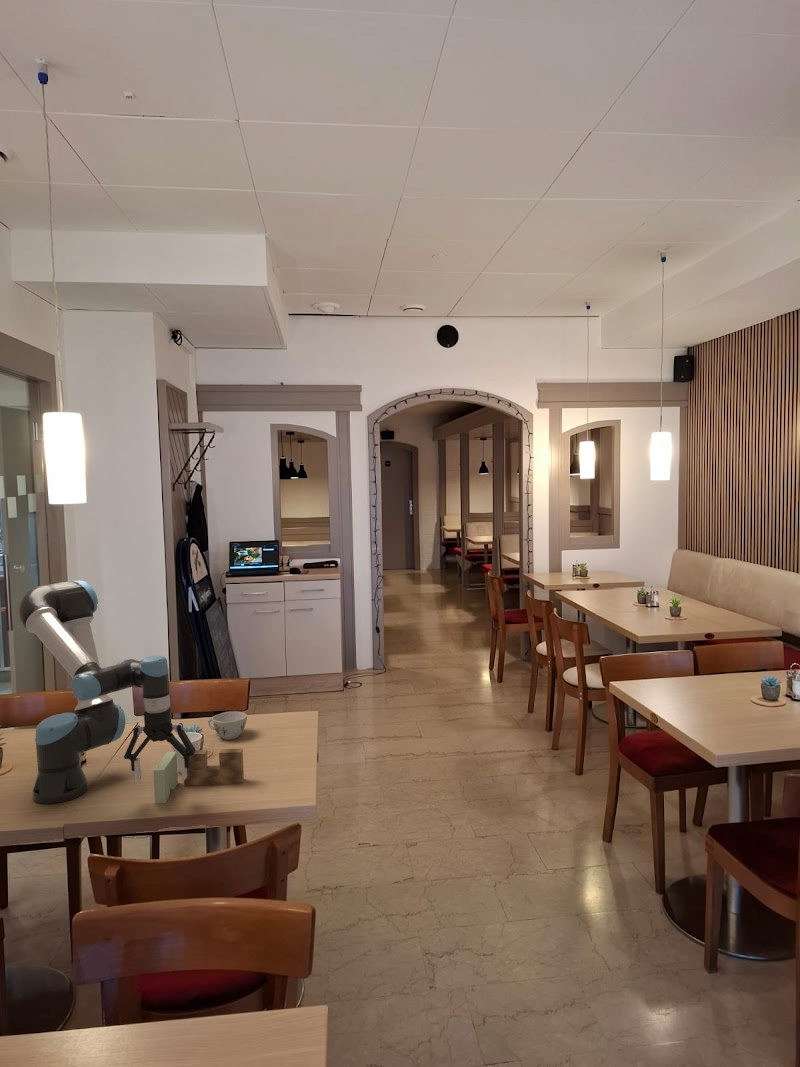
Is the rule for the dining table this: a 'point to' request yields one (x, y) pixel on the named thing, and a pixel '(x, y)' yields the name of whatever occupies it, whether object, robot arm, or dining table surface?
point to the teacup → (229, 724)
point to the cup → (195, 741)
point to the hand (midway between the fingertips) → (161, 779)
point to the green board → (165, 777)
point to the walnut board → (215, 768)
